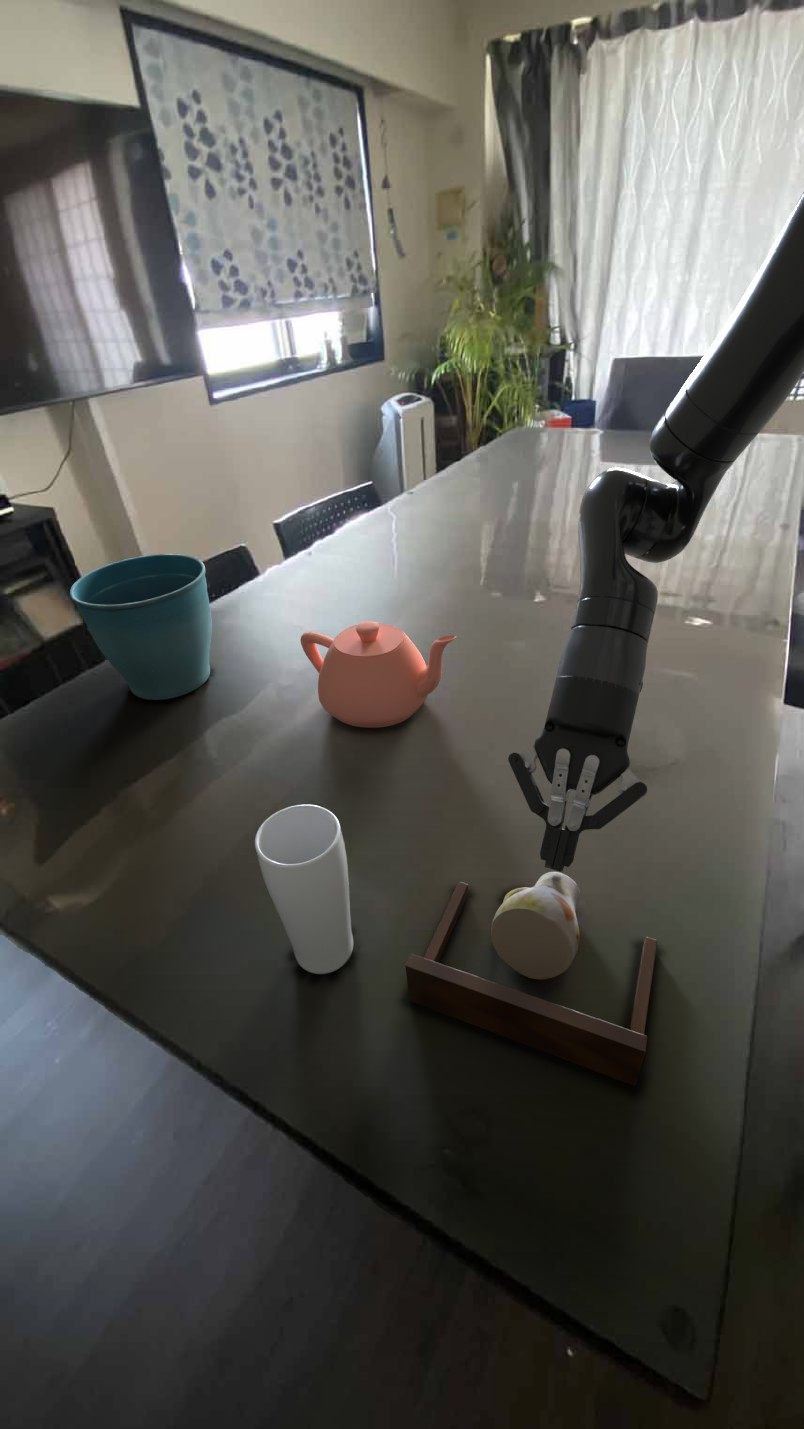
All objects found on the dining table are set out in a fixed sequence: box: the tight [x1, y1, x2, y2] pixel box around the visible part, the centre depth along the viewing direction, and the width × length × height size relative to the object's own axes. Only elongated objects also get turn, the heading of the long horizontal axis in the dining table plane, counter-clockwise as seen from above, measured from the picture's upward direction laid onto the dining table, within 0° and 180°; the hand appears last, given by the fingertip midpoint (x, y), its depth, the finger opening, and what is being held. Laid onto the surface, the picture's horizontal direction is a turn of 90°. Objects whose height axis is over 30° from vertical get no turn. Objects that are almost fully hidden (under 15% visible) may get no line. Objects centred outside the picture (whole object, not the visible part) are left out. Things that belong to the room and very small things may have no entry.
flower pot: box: [69, 553, 213, 701], centre depth 94 cm, size 18×18×17 cm
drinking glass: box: [254, 804, 355, 975], centre depth 53 cm, size 7×7×15 cm
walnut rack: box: [404, 881, 658, 1087], centre depth 53 cm, size 18×12×5 cm
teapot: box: [300, 620, 457, 729], centre depth 85 cm, size 22×15×12 cm
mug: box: [490, 871, 581, 981], centre depth 55 cm, size 8×10×10 cm
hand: (554, 869), depth 57 cm, fingers closed
